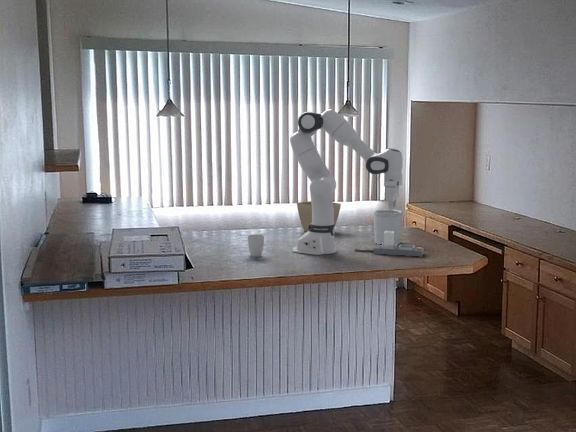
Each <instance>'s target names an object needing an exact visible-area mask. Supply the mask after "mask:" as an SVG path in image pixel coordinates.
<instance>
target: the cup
mask: <svg viewBox="0 0 576 432" xmlns="http://www.w3.org/2000/svg"><path fill="white" fill-rule="evenodd" d="M264 243H265V235H263V234H249V235H247V245H248V250H249V251H248V252H249V254H250V257H253V258H260V257H262V254H263V250H264Z"/></svg>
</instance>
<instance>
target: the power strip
mask: <svg viewBox="0 0 576 432" xmlns="http://www.w3.org/2000/svg"><path fill="white" fill-rule="evenodd" d="M398 245H399V246H398ZM424 250H425V249H424V247H422V246H421V247H419V246H417V247H416V245H414V244H403V243H402V244H400V243H399V244H394V247H389V246H384V243H382V245H379V244H376V245H375V246H374V247H373V249H365V248H364V249H362V248H355V249H354V251H355V252H363V253H364V252H366V253H373V255H381V254H387V256H396V255H406V256H405V257H411V256H420V257H419V258H422V257H423V256H422V255H424V252H425V251H424Z"/></svg>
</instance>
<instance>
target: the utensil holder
mask: <svg viewBox="0 0 576 432" xmlns="http://www.w3.org/2000/svg"><path fill="white" fill-rule="evenodd" d="M373 215H374V218H373V220H374V222H373V225H374V227H373V228H374V231H373V233H374V243H375V244H376V243H377V244H376V245H379V244H382V243H384V232H385V231H394V244H397V245H400V243H401V226H402V224H401V222H402V210H398V209H394V208H393V209H392V210H389V208H381V209H380V208H379V209H375V210H374V211H373Z"/></svg>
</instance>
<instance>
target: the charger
mask: <svg viewBox="0 0 576 432" xmlns="http://www.w3.org/2000/svg"><path fill="white" fill-rule="evenodd" d="M384 246H389V247H394V231H385V232H384Z"/></svg>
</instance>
